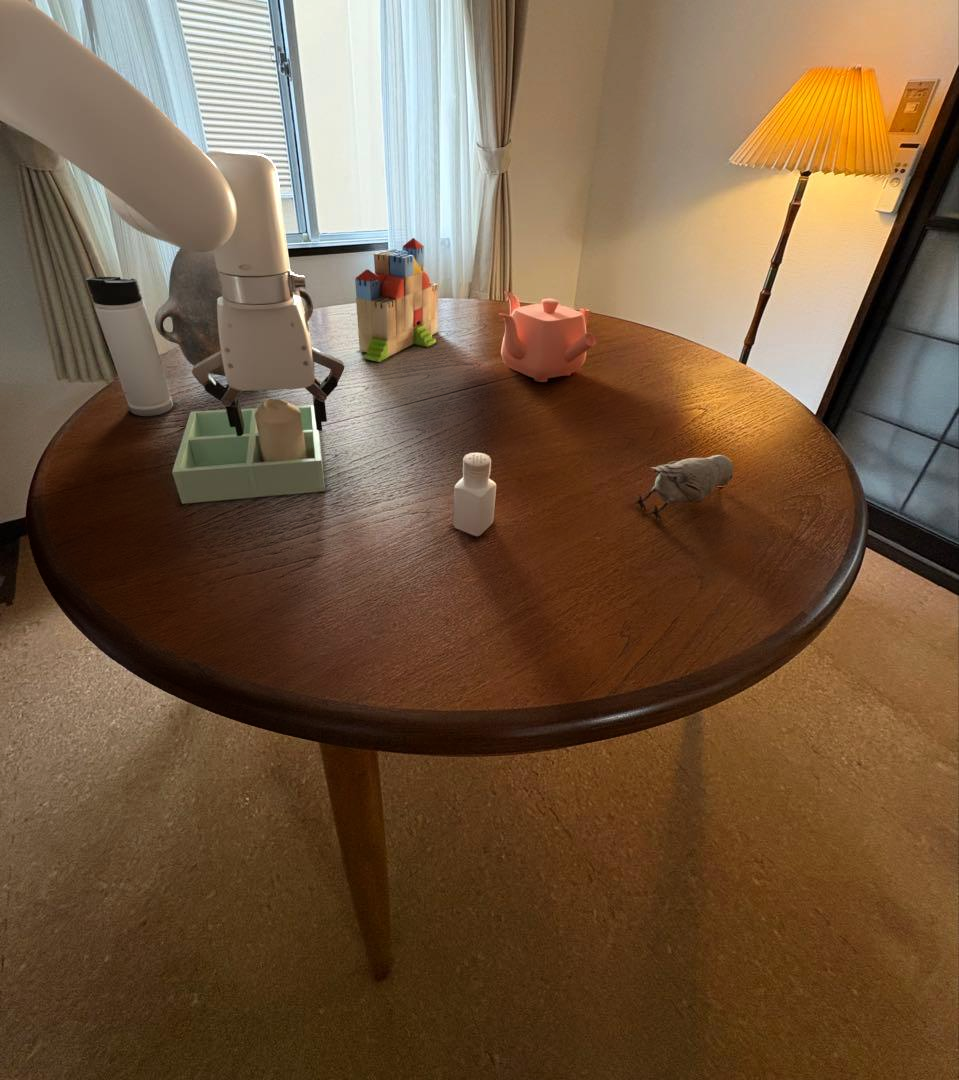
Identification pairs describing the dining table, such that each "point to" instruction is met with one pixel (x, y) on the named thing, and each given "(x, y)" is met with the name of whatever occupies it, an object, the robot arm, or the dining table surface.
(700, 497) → the decorative bird
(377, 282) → the block set
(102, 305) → the travel mug
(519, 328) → the teapot
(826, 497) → the dining table surface
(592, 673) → the dining table surface
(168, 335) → the jug
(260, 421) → the candle
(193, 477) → the grid
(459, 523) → the salt shaker
